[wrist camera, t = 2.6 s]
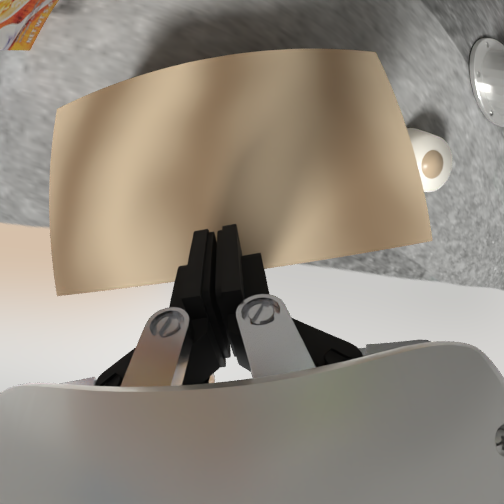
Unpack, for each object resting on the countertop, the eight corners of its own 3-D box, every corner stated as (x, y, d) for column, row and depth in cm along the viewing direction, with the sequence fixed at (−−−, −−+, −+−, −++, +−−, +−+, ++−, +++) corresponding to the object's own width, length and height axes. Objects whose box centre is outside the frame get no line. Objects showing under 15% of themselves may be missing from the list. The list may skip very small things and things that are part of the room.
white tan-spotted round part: (432, 129, 24) (454, 137, 21) (429, 177, 27) (449, 190, 24) (389, 127, 24) (411, 134, 21) (388, 180, 27) (407, 194, 24)
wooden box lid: (371, 59, 12) (375, 52, 12) (423, 241, 12) (432, 240, 11) (63, 114, 13) (57, 109, 12) (65, 294, 13) (57, 296, 12)
